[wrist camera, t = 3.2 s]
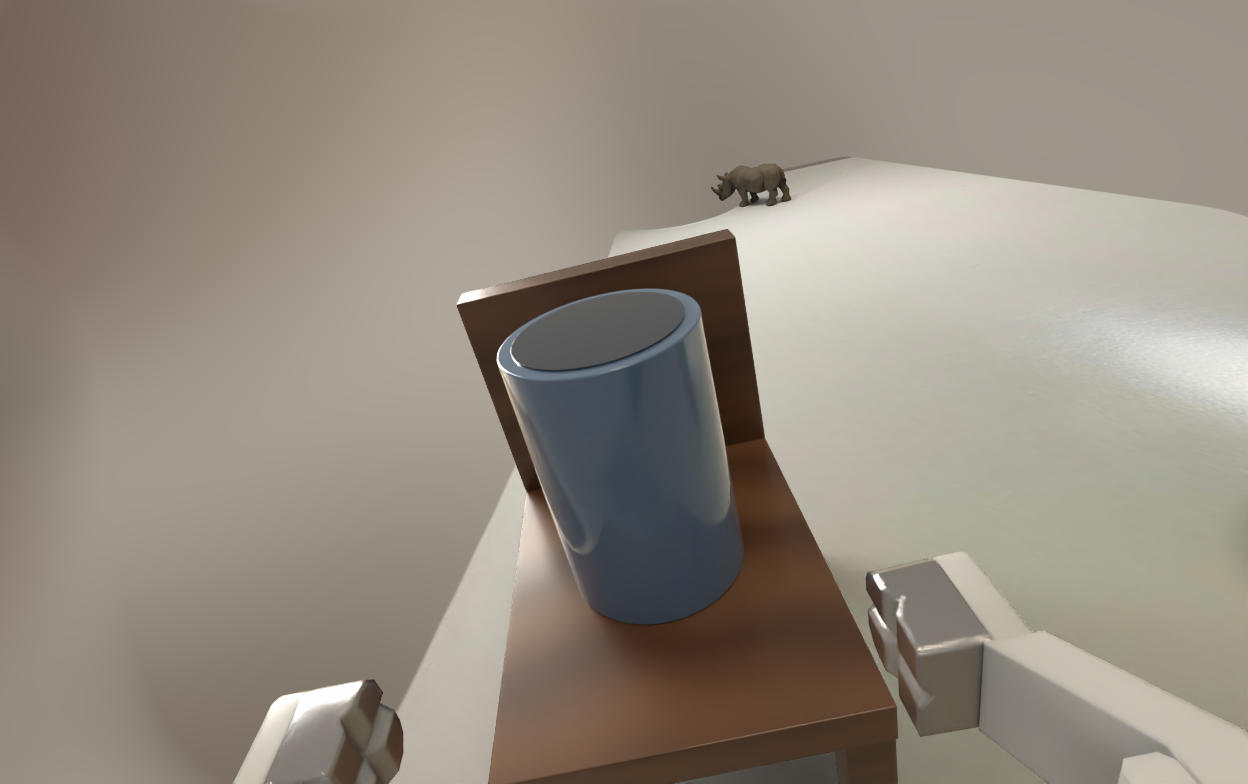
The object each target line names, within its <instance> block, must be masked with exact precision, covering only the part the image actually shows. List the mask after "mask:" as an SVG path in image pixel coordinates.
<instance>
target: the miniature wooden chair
mask: <svg viewBox="0 0 1248 784" xmlns="http://www.w3.org/2000/svg"><path fill="white" fill-rule="evenodd" d="M632 289H666V290H672V291H677V292H681V293H684V294H686V295H689V296H690V297H692V298H693V299H695V300H696V302H697V303H698V304H699V306H700V308H701V312H702V318H703V323H704V328H705V334H706V339H707V345H708V350H709V356H710V361H711V367H712V372H713V377H714V383H715V388H716V394H717V399H718V405H719V410H720V415H721V421H722V426H723V432H724V437H725V443H726V448H727V454H728V459H729V464H730V470H731V475H732V481H733V486H734V492H735V497H736V503H737V508H738V513H739V519H740V524H741V530H742V535H743V541H744V549H745V551H744V560H743V564H742V567H741V569H740V572H739V574H738V576H737V578H736V579H735V581H734V582H733V584H732V585H731V586H730V588H729V589H728V590H727V591H726V592H725V593H724V594H723V595H722V596H721V597H720V598H719V599H717V600H716V601H715V602H713V603H712V604H711V605H709V606H708V607H706V608H704V609H703V610H701V611H699V612H697V613H695V614H693V615H690V616H688V617H685V618H682V619H679V620H676V621H672V622H667V623H662V624H652V625H636V624H629V623H623V622H619V621H615V620H613V619H610V618H608V617H605V616H603V615H602V614H600V613H598V612H597V611H595V610H594V609H593V608H592V607H591V606H589V605H588V603H587V602H586V601H585V600H584V599H583V597H582V595H581V594H580V592H579V590H578V587H577V584H576V581H575V578H574V576H573V573H572V570H571V567H570V564H569V562H568V559H567V556H566V553H565V551H564V548H563V545H562V542H561V539H560V537H559V534H558V531H557V528H556V526H555V523H554V520H553V517H552V514H551V512H550V509H549V506H548V503H547V500H546V498H545V495H544V492H543V489H542V487H541V484H540V481H539V478H538V475H537V473H536V470H535V467H534V464H533V462H532V459H531V456H530V453H529V450H528V448H527V445H526V442H525V439H524V436H523V434H522V431H521V428H520V425H519V423H518V420H517V417H516V414H515V411H514V409H513V406H512V403H511V400H510V398H509V395H508V392H507V389H506V386H505V384H504V381H503V378H502V375H501V372H500V370H499V367H498V364H497V354H498V351H499V348H500V347H501V345H502V344H503V342H504V341H505V340H506V339H507V338H508V337H509V336H510V335H511V334H512V333H513V332H515V331H516V330H517V329H519V328H520V327H521V326H523V325H525V324H526V323H528V322H529V321H531V320H533V319H535V318H537V317H538V316H540V315H542V314H544V313H547V312H549V311H551V310H553V309H556V308H558V307H561V306H563V305H566V304H569V303H572V302H575V301H578V300H581V299H585V298H588V297H592V296H596V295H601V294H605V293H610V292H616V291H623V290H632ZM457 308H458V311H459V313H460V316H461V318H462V321H463V324H464V327H465V329H466V332H467V335H468V337H469V340H470V342H471V345H472V348H473V350H474V353H475V356H476V359H477V361H478V364H479V367H480V369H481V372H482V375H483V377H484V380H485V383H486V385H487V388H488V390H489V393H490V396H491V398H492V401H493V404H494V407H495V409H496V412H497V414H498V417H499V420H500V422H501V425H502V428H503V431H504V433H505V436H506V439H507V441H508V444H509V447H510V449H511V452H512V455H513V457H514V460H515V463H516V465H517V468H518V471H519V473H520V476H521V479H522V481H523V484H524V487H525V489H526V491H527V492H526V499H525V507H524V514H523V522H522V530H521V537H520V545H519V553H518V560H517V568H516V575H515V583H514V591H513V598H512V606H511V614H510V621H509V629H508V636H507V644H506V652H505V659H504V667H503V675H502V682H501V690H500V697H499V705H498V713H497V720H496V728H495V736H494V743H493V751H492V759H491V766H490V774H489V781H488V784H672V783H677V782H682V781H687V780H692V779H697V778H702V777H707V776H712V775H717V774H722V773H727V772H733V771H738V770H743V769H748V768H753V767H758V766H763V765H768V764H773V763H778V762H783V761H788V760H793V759H798V758H803V757H808V756H813V755H818V754H823V753H828V752H833V751H834V752H835V760H836V769H837V777H838V784H898V777H897V756H896V739H897V738H898V723H897V706H896V704H895V702H894V700H893V698H892V696H891V694H890V692H889V690H888V687H887V685H886V683H885V681H884V679H883V677H882V675H881V673H880V671H879V669H878V667H877V665H876V663H875V661H874V659H873V657H872V655H871V653H870V651H869V649H868V647H867V645H866V643H865V641H864V639H863V637H862V635H861V632H860V630H859V628H858V626H857V624H856V622H855V620H854V618H853V616H852V614H851V612H850V610H849V608H848V606H847V604H846V602H845V600H844V598H843V596H842V594H841V592H840V590H839V588H838V586H837V584H836V582H835V579H834V577H833V575H832V573H831V571H830V569H829V567H828V565H827V563H826V561H825V559H824V557H823V555H822V553H821V551H820V549H819V547H818V545H817V543H816V541H815V539H814V537H813V535H812V533H811V531H810V529H809V527H808V524H807V522H806V520H805V518H804V516H803V514H802V512H801V510H800V508H799V506H798V504H797V502H796V500H795V498H794V496H793V494H792V492H791V490H790V488H789V486H788V484H787V482H786V480H785V478H784V476H783V474H782V472H781V469H780V467H779V465H778V463H777V461H776V459H775V457H774V455H773V453H772V451H771V449H770V447H769V445H768V443H767V441H766V439H765V434H764V428H763V421H762V414H761V407H760V401H759V394H758V387H757V380H756V374H755V367H754V360H753V353H752V347H751V340H750V333H749V326H748V320H747V313H746V306H745V300H744V293H743V286H742V279H741V273H740V266H739V259H738V252H737V246H736V239H735V237H734V235H733V234H732V233H731V232H730V231H729V230H728V229H725V230H721V231H717V232H713V233H708V234H704V235H700V236H696V237H692V238H688V239H684V240H680V241H676V242H672V243H668V244H663V245H659V246H655V247H651V248H647V249H643V250H639V251H635V252H631V253H627V254H623V255H618V256H614V257H610V258H606V259H602V260H598V261H594V262H590V263H586V264H582V265H578V266H574V267H570V268H565V269H561V270H558V271H553V272H549V273H545V274H541V275H537V276H532V277H528V278H525V279H520V280H516V281H512V282H508V283H504V284H500V285H496V286H492V287H488V288H483V289H480V290H475V291H471V292H467V293H463V294H462V295H461V297H460V299H459V301H458V303H457Z"/></svg>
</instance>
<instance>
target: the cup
mask: <svg viewBox="0 0 1248 784" xmlns="http://www.w3.org/2000/svg"><path fill="white" fill-rule="evenodd" d="M497 364H498V367H499V370H500V372H501V375H502V378H503V381H504V384H505V386H506V389H507V392H508V395H509V398H510V400H511V403H512V406H513V409H514V411H515V414H516V417H517V420H518V423H519V425H520V428H521V431H522V434H523V436H524V439H525V442H526V445H527V448H528V450H529V453H530V456H531V459H532V462H533V464H534V467H535V470H536V473H537V475H538V478H539V481H540V484H541V487H542V489H543V492H544V495H545V498H546V500H547V503H548V506H549V509H550V512H551V514H552V517H553V520H554V523H555V526H556V528H557V531H558V534H559V537H560V539H561V542H562V545H563V548H564V551H565V553H566V556H567V559H568V562H569V564H570V567H571V570H572V573H573V576H574V578H575V581H576V584H577V587H578V590H579V592H580V594H581V595H582V597H583V599H584V600H585V601H586V602H587V603H588V605H589V606H591V607H592V608H593V609H594V610H595V611H597V612H598V613H600V614H602V615H603V616H605V617H608V618H610V619H613V620H615V621H619V622H623V623H629V624H636V625H652V624H662V623H667V622H672V621H676V620H679V619H682V618H685V617H688V616H690V615H693V614H695V613H697V612H699V611H701V610H703V609H704V608H706V607H708V606H709V605H711V604H712V603H713V602H715V601H716V600H717V599H719V598H720V597H721V596H722V595H723V594H724V593H725V592H726V591H727V590H728V589H729V588H730V586H731V585H732V584H733V582H734V581H735V579H736V578H737V576H738V574H739V572H740V569H741V567H742V564H743V560H744V551H745V549H744V541H743V535H742V530H741V524H740V519H739V513H738V508H737V503H736V497H735V492H734V486H733V481H732V475H731V470H730V464H729V459H728V454H727V448H726V443H725V437H724V432H723V426H722V421H721V415H720V410H719V405H718V399H717V394H716V388H715V383H714V377H713V372H712V367H711V361H710V356H709V350H708V345H707V339H706V334H705V328H704V323H703V318H702V312H701V308H700V306H699V304H698V303H697V302H696V300H695V299H693V298H692V297H690V296H689V295H686V294H684V293H681V292H677V291H672V290H666V289H632V290H623V291H616V292H610V293H605V294H601V295H596V296H592V297H588V298H585V299H581V300H578V301H575V302H572V303H569V304H566V305H563V306H561V307H558V308H556V309H553V310H551V311H549V312H547V313H544V314H542V315H540V316H538V317H537V318H535V319H533V320H531V321H529V322H528V323H526V324H525V325H523V326H521V327H520V328H519V329H517V330H516V331H515V332H513V333H512V334H511V335H510V336H509V337H508V338H507V339H506V340H505V341H504V342H503V344H502V345H501V347H500V348H499V351H498V354H497Z"/></svg>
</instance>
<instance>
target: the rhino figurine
mask: <svg viewBox="0 0 1248 784" xmlns="http://www.w3.org/2000/svg"><path fill="white" fill-rule="evenodd" d="M717 177H718V179H720V180H722V181H723V185H718V187H719V189H720V190H717V189H714V188H713V187H711V189H712V190H713V192H715V193H716V194H717V195H718V196H719V199H720V200H721V201H723V200H725V199H727V198H728V197H730V196H731V195H732V194H733V193H734V191H735V189H737V191H738V193H739V194H740V196H741V198H742V202H741V203H740V206H741V207H742V206H746V205H748V204H749V202H748V195H747V192H750V194H751V197H752V198H751V202H755V201H757V200H758V199H759V197H758V196H757V194H756V193H760V192H763V191H766V190H767V191H769V200H768V201H767V202H766V205H772V204H776V203H777V201H776V196H777V195H778V191H777V187H779V188H780V189H781V191H782V192H783V197H782V201H787V200H790V199H791V197H790V195H789V188H788V186H787V185H786V178H785V175H784V172H783V170H782V169H781V168H780V167H779V166H777V165H776V164H762V165H760V166H758V167H755V168H749V167H746V166H738V167H736V168H735V169H733V170H732V171H731V172H730V173H729V174H728V173H725V176H724V177H723V176H718V175H717Z"/></svg>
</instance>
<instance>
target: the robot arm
mask: <svg viewBox="0 0 1248 784" xmlns="http://www.w3.org/2000/svg"><path fill="white" fill-rule="evenodd" d="M866 590H867V592H868V594H869V596H870V598H871V599H872V601H873V604H872V605H871V607H870V608H869V609H868V617H869V626H870V630H871V634H872V637H873V641H874V644H875V647H876V649H877V652H878V654H879V657H880V659H881V661H882V663H883V665H884V667H885V669H886V671H887V672H889V673H891V674H892V675H894V676H895V677H897V678H898V680H899V697H900V699H901V701H902V703H903V704H904V706H905V708H906V710H907V712H908V714H909V716H910V718H911V720H912V722H913V724H914V726H915V728H916V730H917V732H918V734H919V736H920V737H922V736H928V735H934V734H940V733H946V732H952V731H958V730H964V729H970V728H976V727H979V730H980V731H981V732H982V733H983V734H985V735H986V736H987V737H989V738H990V739H991V740H993V741H994V742H995V743H997V744H998V745H999V746H1000V747H1002V748H1003V749H1004V750H1006V751H1007V752H1008V753H1010V754H1011V755H1012V756H1013V757H1015V758H1016V759H1017V760H1019V761H1020V762H1021V763H1023V764H1024V765H1025V766H1027V767H1028V768H1029V769H1030V770H1032V771H1033V772H1034V773H1036V774H1037V775H1038V776H1040V777H1041V778H1042V779H1043V780H1045V781H1046V782H1047V783H1049V784H1248V732H1247V731H1245V730H1243V729H1241V728H1239V727H1237V726H1235V725H1233V724H1231V723H1229V722H1227V721H1225V720H1223V719H1221V718H1219V717H1217V716H1215V715H1213V714H1211V713H1209V712H1207V711H1205V710H1203V709H1201V708H1199V707H1197V706H1195V705H1193V704H1191V703H1189V702H1187V701H1185V700H1183V699H1181V698H1179V697H1177V696H1175V695H1173V694H1171V693H1169V692H1167V691H1165V690H1163V689H1161V688H1159V687H1157V686H1155V685H1153V684H1151V683H1149V682H1147V681H1145V680H1143V679H1141V678H1139V677H1137V676H1134V675H1132V674H1130V673H1128V672H1126V671H1124V670H1122V669H1120V668H1118V667H1116V666H1114V665H1112V664H1110V663H1108V662H1106V661H1104V660H1102V659H1100V658H1098V657H1096V656H1094V655H1092V654H1090V653H1088V652H1086V651H1084V650H1082V649H1080V648H1078V647H1076V646H1074V645H1072V644H1070V643H1068V642H1066V641H1064V640H1062V639H1060V638H1058V637H1056V636H1054V635H1052V634H1050V633H1048V632H1046V631H1044V630H1042V631H1036V632H1032V630H1031V629H1030V628H1029V627H1028V626H1027V624H1026V623H1025V622H1024V621H1023V619H1022V618H1021V617H1020V616H1019V614H1018V613H1017V612H1016V611H1015V609H1014V608H1013V607H1012V606H1011V605H1010V603H1009V602H1008V601H1007V600H1006V598H1005V597H1004V596H1003V595H1002V593H1001V592H1000V591H999V590H998V588H997V587H996V586H995V585H994V584H993V582H992V581H991V580H990V579H989V577H988V576H987V575H986V574H985V572H984V571H983V570H982V569H981V567H980V566H979V565H978V564H977V563H976V561H975V560H974V559H973V558H972V556H971V555H970V554H968V553H966V552H964V551H961V552H956V553H952V554H947V555H943V556H938V557H934V558H931V559H923V560H919V561H915V562H910V563H906V564H901V565H897V566H892V567H888V568H883V569H879V570H875V571H870V572H868V573H867V576H866ZM382 694H383V692H382V690H381V689H380V687H379V686H378V684H377V683H376V682H375V680H362V681H357V682H352V683H346V684H341V685H336V686H330V687H325V688H320V689H314V690H310V691H305V692H300V693H295V694H290V695H285V696H281V697H280V698H279V699H277V700H276V701H275V702H274V703H273V704H272V706H271V708H270V709H269V711H268V714H267V716H266V718H265V720H264V722H263V724H262V726H261V728H260V730H259V732H258V734H257V736H256V738H255V740H254V742H253V744H252V746H251V748H250V750H249V752H248V755H247V757H246V759H245V760H244V763H243V764H242V767H241V769H240V771H239V773H238V775H237V777H236V779H235V781H234V783H233V784H389V782H390V781H391V780H392V779H393V777H394V776H395V775H396V774H397V772H398V771H399V768H400V764H401V760H402V755H403V730H402V727H401V723H400V719H399V718H398V716H397V714H396V713H395V711H394V710H393V709H391V708H389V707H387V706H385V705H383V704H380V701H381V697H382Z"/></svg>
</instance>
